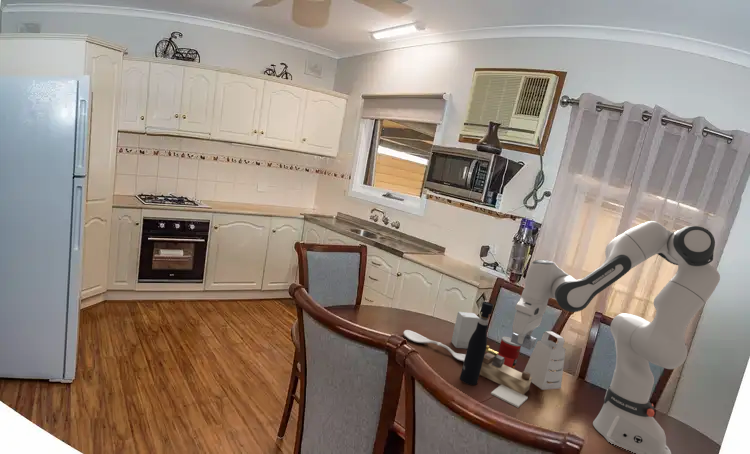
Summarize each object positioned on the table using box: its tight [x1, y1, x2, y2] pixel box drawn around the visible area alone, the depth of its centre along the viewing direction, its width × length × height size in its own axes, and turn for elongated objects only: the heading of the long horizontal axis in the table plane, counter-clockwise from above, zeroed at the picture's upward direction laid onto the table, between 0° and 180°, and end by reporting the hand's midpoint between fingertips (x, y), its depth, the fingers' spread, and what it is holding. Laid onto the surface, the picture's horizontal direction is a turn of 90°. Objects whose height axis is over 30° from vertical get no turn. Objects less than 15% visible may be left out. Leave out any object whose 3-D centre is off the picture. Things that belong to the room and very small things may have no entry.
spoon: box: [403, 329, 466, 363], centre depth 182 cm, size 9×32×4 cm, turn 57°
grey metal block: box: [511, 332, 537, 351], centre depth 154 cm, size 7×4×3 cm, turn 51°
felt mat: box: [490, 384, 529, 408], centre depth 154 cm, size 10×10×1 cm
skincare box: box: [450, 311, 480, 350], centre depth 190 cm, size 8×6×15 cm
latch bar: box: [485, 344, 499, 356], centre depth 168 cm, size 6×2×2 cm, turn 52°
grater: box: [523, 330, 567, 391], centre depth 170 cm, size 10×10×20 cm
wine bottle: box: [459, 301, 494, 386], centre depth 158 cm, size 6×6×30 cm
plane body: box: [479, 352, 532, 395], centre depth 164 cm, size 18×7×8 cm, turn 52°
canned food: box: [497, 336, 522, 369], centre depth 180 cm, size 8×8×11 cm
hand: (523, 341), depth 154 cm, fingers closed on grey metal block, 4 cm apart
